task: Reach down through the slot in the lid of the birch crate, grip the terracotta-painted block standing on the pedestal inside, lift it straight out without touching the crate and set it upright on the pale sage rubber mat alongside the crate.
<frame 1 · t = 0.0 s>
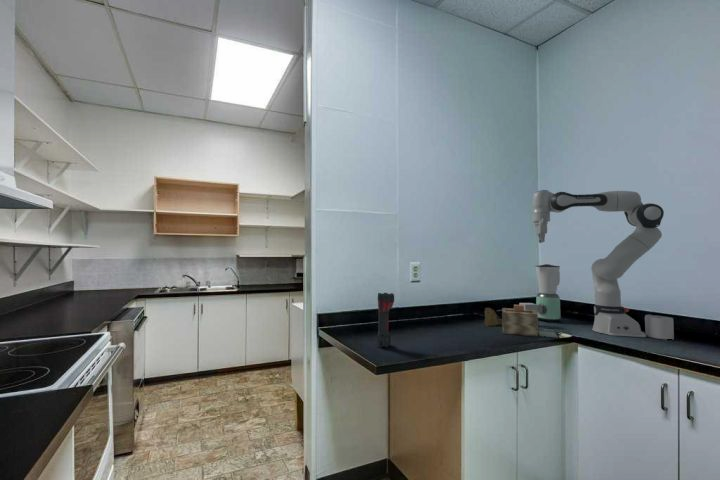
hand: (541, 242, 190), 48 cm above the counter, tool pointing down, fingers open, 8 cm apart
rock: (492, 325, 191), on the counter
supplement box: (528, 325, 190), on the counter
juicer: (549, 320, 206), on the counter
mat: (547, 334, 168), on the counter
toilet tissue: (657, 337, 166), on the counter
crate: (519, 332, 173), on the counter
block: (518, 320, 174), point 6 cm above the counter, touching crate
flashlight: (385, 345, 145), on the counter
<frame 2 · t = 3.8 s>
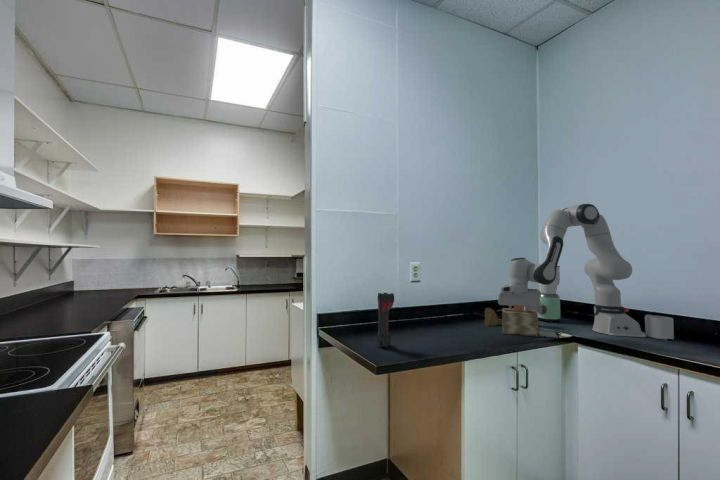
hand: (518, 314, 174), 9 cm above the counter, tool pointing down, fingers closed on block, 4 cm apart
block: (519, 320, 174), point 6 cm above the counter, touching crate, gripper
everything else where it was.
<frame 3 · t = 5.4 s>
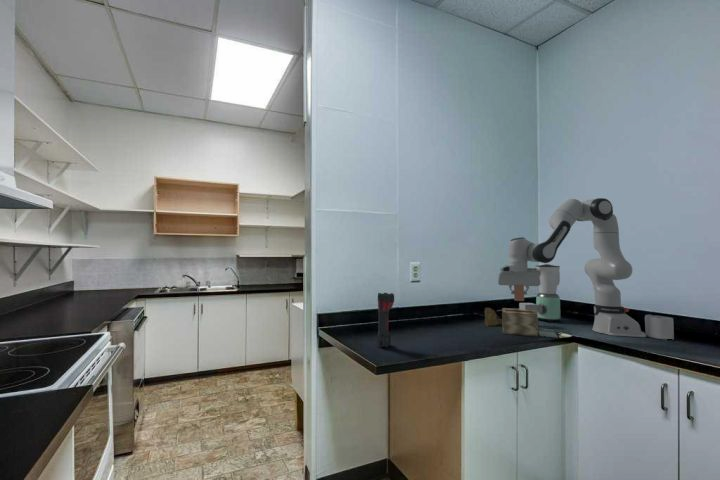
hand: (519, 294, 174), 20 cm above the counter, tool pointing down, fingers closed on block, 4 cm apart
block: (519, 300, 174), point 17 cm above the counter, touching gripper
everything else where it was.
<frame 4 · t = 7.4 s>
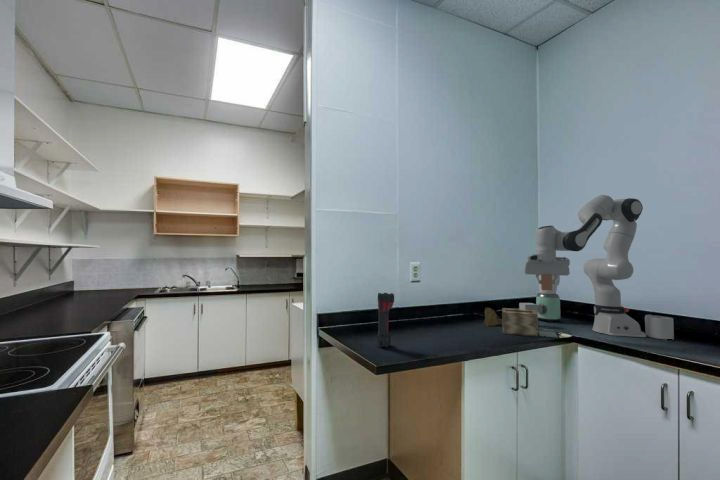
hand: (546, 283, 170), 26 cm above the counter, tool pointing down, fingers closed on block, 4 cm apart
block: (546, 289, 169), point 23 cm above the counter, touching gripper
everything else where it was.
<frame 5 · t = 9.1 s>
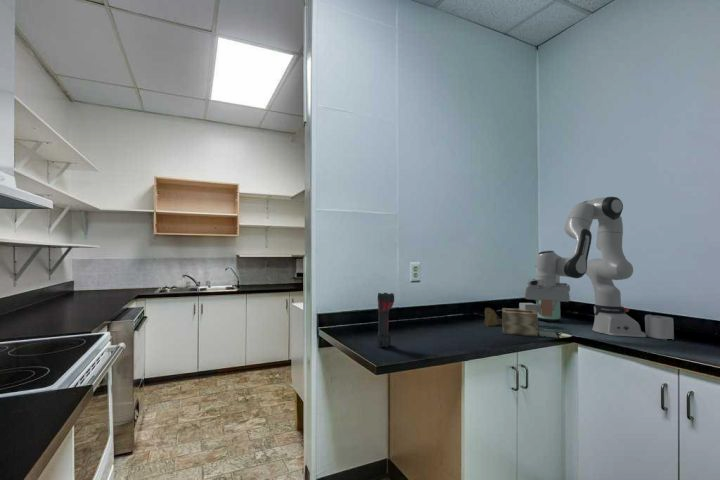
hand: (546, 309, 169), 13 cm above the counter, tool pointing down, fingers closed on block, 4 cm apart
block: (546, 315, 169), point 10 cm above the counter, touching gripper
everything else where it was.
when the fingers open (6 cm above the counter, at t = 10.7 s): block drops 2 cm, resting on mat.
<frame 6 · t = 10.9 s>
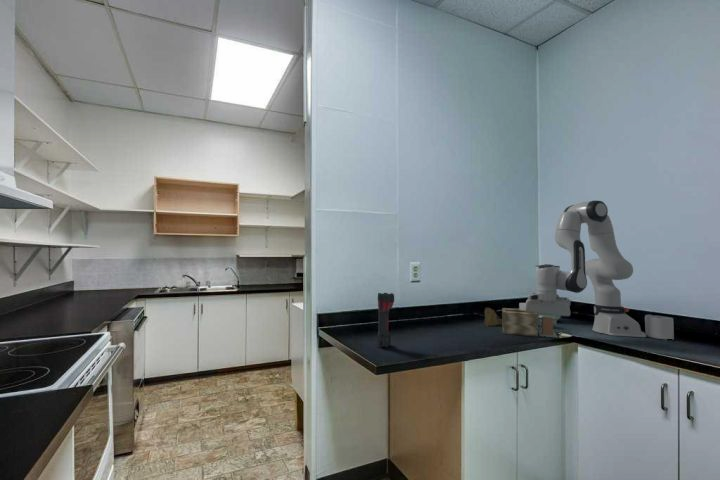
hand: (547, 323, 169), 6 cm above the counter, tool pointing down, fingers open, 5 cm apart
block: (547, 333, 168), point 1 cm above the counter, touching mat
everything else where it was.
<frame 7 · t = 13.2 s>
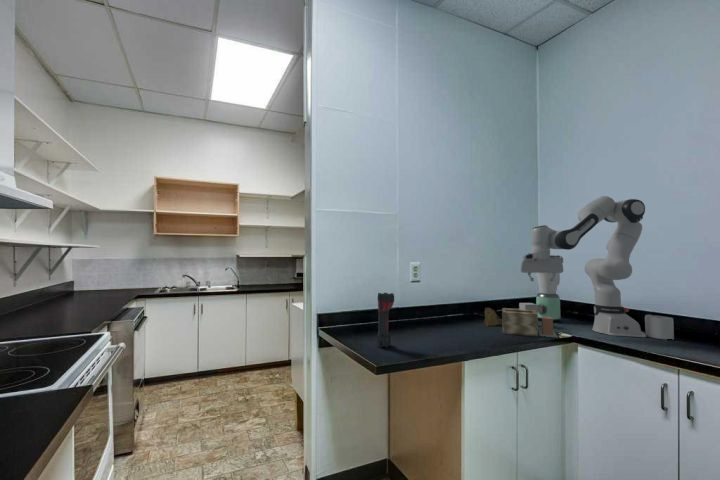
hand: (541, 281, 177), 27 cm above the counter, tool pointing down, fingers open, 8 cm apart
nothing on the counter moved.
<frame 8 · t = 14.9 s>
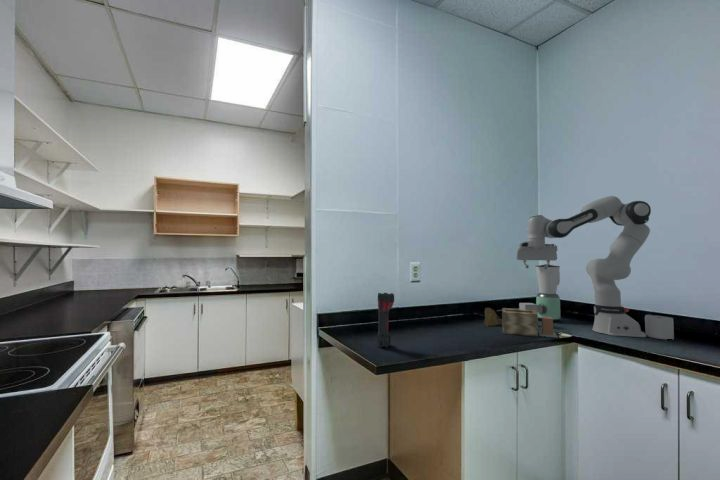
hand: (536, 268, 186), 33 cm above the counter, tool pointing down, fingers open, 8 cm apart
nothing on the counter moved.
at the end: block inside the target area on the mat (0.1 cm from its centre), point 0.6 cm above the mat's base; block tilted 0°; the gripper is holding nothing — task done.
